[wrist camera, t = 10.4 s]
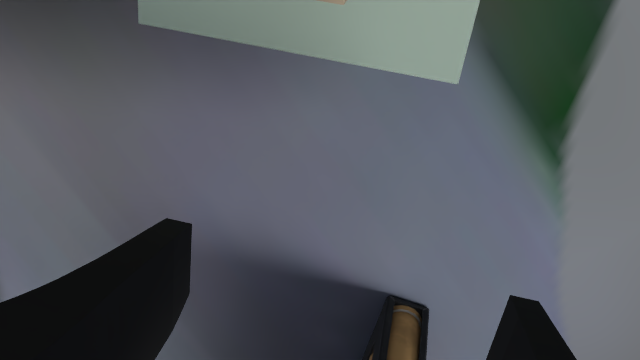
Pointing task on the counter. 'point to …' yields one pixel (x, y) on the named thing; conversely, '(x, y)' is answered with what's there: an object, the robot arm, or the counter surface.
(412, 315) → the ammunition clip
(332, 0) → the beech block
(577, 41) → the counter surface
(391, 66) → the sage base block
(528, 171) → the counter surface
